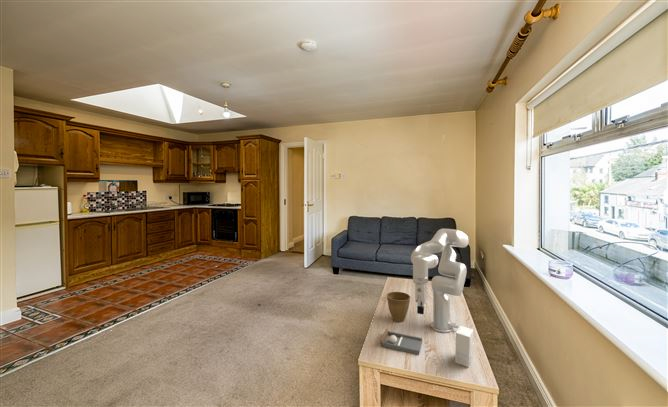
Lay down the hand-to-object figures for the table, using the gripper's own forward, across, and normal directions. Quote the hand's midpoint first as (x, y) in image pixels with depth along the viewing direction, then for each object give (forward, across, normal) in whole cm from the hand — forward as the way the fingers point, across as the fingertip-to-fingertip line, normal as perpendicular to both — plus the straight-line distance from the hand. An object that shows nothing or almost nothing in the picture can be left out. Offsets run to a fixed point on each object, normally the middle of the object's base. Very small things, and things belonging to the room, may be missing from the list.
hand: (420, 313), depth 143 cm
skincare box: (+19, -3, -21) cm, 29 cm away
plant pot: (+19, +27, +17) cm, 37 cm away
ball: (+17, -1, +14) cm, 22 cm away
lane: (+19, 0, +10) cm, 22 cm away
